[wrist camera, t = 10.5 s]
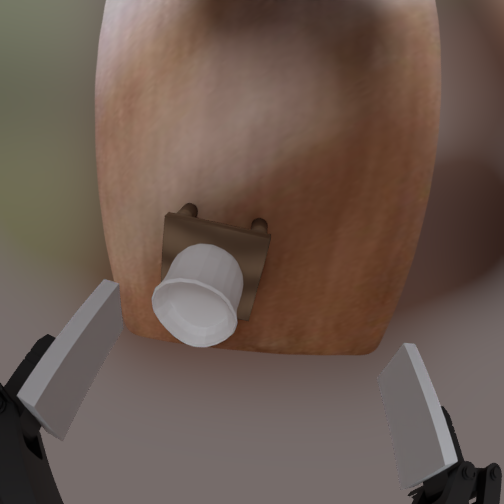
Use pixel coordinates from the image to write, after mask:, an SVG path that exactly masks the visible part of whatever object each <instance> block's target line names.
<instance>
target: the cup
mask: <svg viewBox="0 0 504 504" xmlns="http://www.w3.org/2000/svg"><path fill="white" fill-rule="evenodd" d="M242 290H243V275H242V272H241V269H240V267H239V264H238V262H237V261H236V260H235V258H234V257H233V256H232V255H231V254H229V253H228V252H227V251H225V250H224V249H221V248H219V247H217V246H215V245H211V244H196V245H192V246H189V247H187V248H186V249H184V250H183V251H182V252H180V253H179V254H177V256H176V257H175V259H174V261H173V262H172V264H171V266H170V269H169V271H168V273H167V275H166V277H165V278H164V280H163V281H162V282H161V283H160V284H159V285H158V286H157V287H156V288H155V290H154V293H153V296H152V306H153V310H154V312H155V314H156V316H157V317H158V319H159V321H160V322H161V323H162V324H163V326H164V327H165V328H166V329H167V330H168V331H169V332H170V333H171V334H172V335H173V336H174V337H176V338H177V339H179V340H180V341H182V342H183V343H185V344H188V345H191V346H194V347H208V346H212V345H216V344H218V343H220V342H222V341H224V340H226V339H227V338H229V337H230V336H231V335H232V334H233V333H234V331H235V329H236V326H237V308H238V305H239V302H240V298H241V295H242Z"/></svg>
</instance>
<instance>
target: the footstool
mask: <svg viewBox="0 0 504 504" xmlns="http://www.w3.org/2000/svg"><path fill="white" fill-rule="evenodd" d="M197 212H198V210H197V207H196V206H195V205H194V204H192V203H187V204H186V205H184V206H183V207H182V208H181V210H180V211H179V212H178V213H177V214H175V213H171V212H169V213H168V214H166V215H165V222H164V234H163V249H162V268H161V282H162V281H163V280H164V278H165V277H166V275H167V273H168V271H169V269H170V266H171V264H172V262H173V261H174V259H175V257H176V256H177V254H179V253H180V252H182V251H183V250H184V249H186V248H187V247H189V246H192V245H196V244H211V245H215V246H217V247H219V248H221V249H224V250H225V251H227V252H228V253H229V254H231V255H232V256H233V257H234V258H235V260H236V261H237V262H238V264H239V267H240V269H241V272H242V275H243V290H242V295H241V298H240V302H239V305H238V308H237V319H241V320H245V321H249V317H250V314H251V310H252V306H253V303H254V299H255V296H256V292H257V288H258V285H259V281H260V277H261V274H262V270H263V266H264V262H265V259H266V255H267V251H268V248H269V244H270V240H271V234H267V222H266V221H265V220H264V219H261V218H257V219H255V220H254V221H253V222H252V226H251V230H249V229H245V228H240V227H236V226H231V225H227V224H222V223H217V222H213V221H208V220H204V219H199V218H194V217H195V216H196V215H197Z"/></svg>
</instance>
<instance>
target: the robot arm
mask: <svg viewBox="0 0 504 504" xmlns="http://www.w3.org/2000/svg"><path fill="white" fill-rule="evenodd" d="M122 330H123V320H122V311H121V301H120V290H119V283H116V282H113V281H109V280H106V279H104V280H103V281H102V282H101V283H100V285H99V286H98V287H97V288H96V289H95V291H93V293H92V294H91V295H90V296H89V297H88V299H87V300H86V301H85V302H84V304H83V305H82V306H81V307H80V308H79V309H78V311H77V312H76V313H75V314H74V316H73V317H72V318H71V319H70V321H69V322H68V323H67V325H66V326H65V327H64V328H63V330H62V331H61V332H60V334H59V335H58V336H57V338H55V337H53V336H51V335H49V334H47V335H45V336H44V337H43V338H41V339H39V340H38V341H37V342H36V343H35V345H34V346H33V348H32V349H31V351H30V352H29V353H28V354H27V355H26V357H25V359H24V360H23V361H22V362H21V364H20V365H19V366H18V368H17V369H16V371H15V372H14V374H13V375H12V376H11V378H10V379H9V381H8V382H7V384H6V385H5V386H4V387H3V386H2V385H1V383H0V504H64V503H63V501H62V499H61V497H60V494H59V491H58V489H57V486H56V483H55V481H54V478H53V475H52V472H51V469H50V466H49V463H48V460H47V456H46V453H45V449H44V446H43V442H42V438H41V434H40V432H39V430H40V428H41V426H42V427H43V428H44V429H45V430H46V431H47V432H48V433H49V434H51V435H53V436H54V437H56V438H58V439H60V440H61V441H63V440H64V438H65V436H66V434H67V431H68V430H69V427H70V425H71V423H72V421H73V419H74V417H75V415H76V413H77V411H78V409H79V407H80V405H81V403H82V401H83V400H84V398H85V396H86V394H87V392H88V390H89V388H90V386H91V384H92V383H93V381H94V379H95V377H96V375H97V373H98V371H99V370H100V368H101V366H102V365H103V363H104V361H105V359H106V357H107V356H108V354H109V352H110V351H111V349H112V347H113V345H114V344H115V342H116V340H117V339H118V337H119V335H120V333H121V332H122ZM377 381H378V385H379V389H380V392H381V397H382V401H383V405H384V409H385V413H386V417H387V421H388V426H389V430H390V435H391V439H392V445H393V449H394V455H395V460H396V466H397V471H398V477H399V483H400V490H403V489H407V488H411V487H414V486H416V485H418V484H420V483H422V482H423V486H421V487H419V488H417V489H415V490H413V491H411V492H410V493H409V494H408V496H411V495H414V494H416V493H417V494H416V495H414V496H413V497H412V498H413V499H414V500H413V502H412V504H469V500H470V499H473V498H475V497H476V502H474V503H472V504H499V501H500V492H501V478H502V473H501V469H500V467H499V465H498V464H496V463H492V464H490V465H489V466H487V467H486V468H475V467H474V465H473V464H472V463H471V462H469V461H464V459H463V456H462V453H461V449H460V446H459V443H458V439H457V436H456V433H454V432H455V430H454V427H453V426H452V421H451V418H450V415H449V414H448V413H447V411H446V410H445V408H444V407H443V406H440V403H439V401H438V398H437V395H436V392H435V390H434V387H433V385H432V383H431V380H430V378H429V375H428V372H427V370H426V368H425V366H424V363H423V361H422V358H421V356H420V354H419V352H418V349H417V347H416V345H415V344H409V343H403V344H402V346H401V347H400V349H399V350H398V351H397V353H396V354H395V356H394V357H393V358H392V360H391V361H390V362H389V363H388V365H387V366H386V367H385V369H384V370H383V371H382V372H381V373H380V375H379V376H378V377H377Z"/></svg>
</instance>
